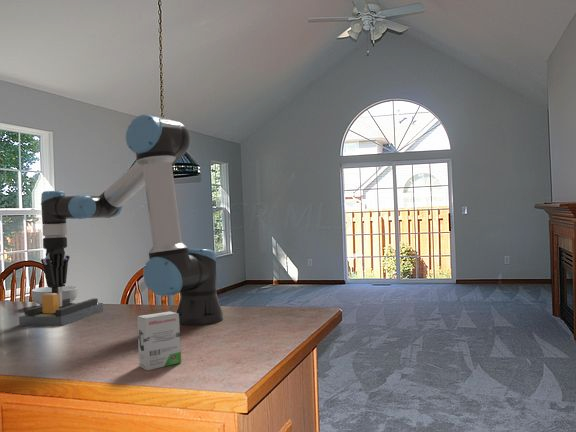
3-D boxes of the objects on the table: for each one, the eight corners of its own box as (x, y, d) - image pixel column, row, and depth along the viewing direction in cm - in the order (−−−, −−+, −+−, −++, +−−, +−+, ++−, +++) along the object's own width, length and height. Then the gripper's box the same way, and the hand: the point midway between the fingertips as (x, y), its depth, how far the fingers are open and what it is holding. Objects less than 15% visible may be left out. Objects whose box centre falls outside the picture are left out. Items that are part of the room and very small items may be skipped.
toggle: (59, 311, 184) (58, 292, 184) (53, 313, 181) (53, 294, 181) (48, 311, 184) (47, 292, 184) (42, 313, 181) (42, 294, 181)
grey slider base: (102, 310, 201) (102, 301, 201) (61, 326, 175) (61, 314, 175) (65, 310, 204) (65, 301, 204) (19, 325, 178) (18, 314, 178)
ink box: (172, 359, 132) (171, 310, 132) (182, 363, 128) (180, 312, 128) (138, 366, 127) (136, 315, 126) (146, 371, 123) (144, 318, 122)
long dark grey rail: (97, 303, 200) (97, 298, 200) (60, 315, 177) (60, 310, 177) (93, 303, 200) (92, 298, 200) (55, 315, 177) (55, 310, 177)
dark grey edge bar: (70, 303, 202) (69, 298, 202) (29, 315, 179) (29, 310, 179) (65, 303, 202) (65, 298, 202) (25, 315, 179) (24, 310, 179)
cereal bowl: (62, 310, 205) (61, 291, 205) (22, 310, 208) (21, 291, 208) (86, 302, 222) (86, 285, 222) (49, 302, 225) (48, 285, 225)
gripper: (56, 235, 193) (58, 303, 193) (32, 238, 180) (35, 310, 180) (75, 235, 192) (78, 302, 192) (53, 237, 179) (56, 310, 179)
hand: (57, 306), depth 186 cm, fingers closed
